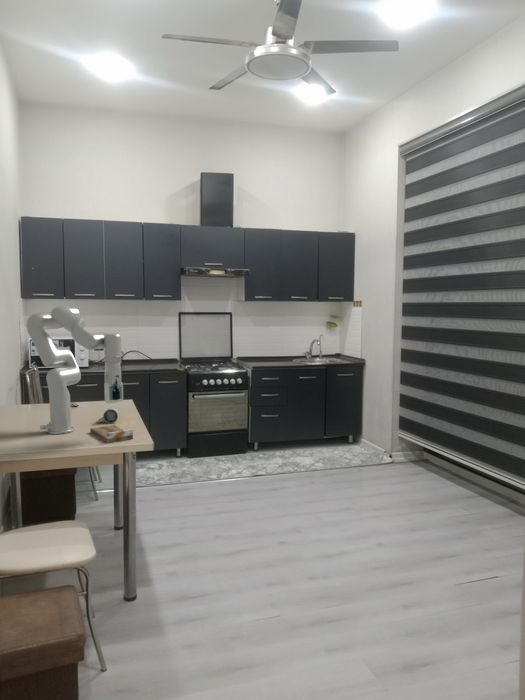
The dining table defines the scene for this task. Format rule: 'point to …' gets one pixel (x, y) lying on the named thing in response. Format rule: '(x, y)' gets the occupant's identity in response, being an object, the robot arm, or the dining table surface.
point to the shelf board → (112, 433)
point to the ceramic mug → (109, 416)
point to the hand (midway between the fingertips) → (114, 398)
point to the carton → (109, 393)
